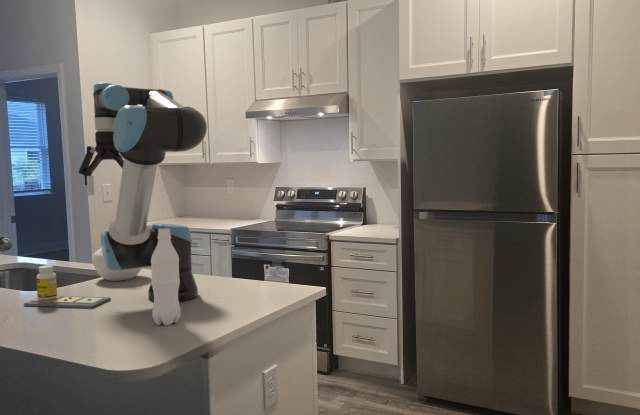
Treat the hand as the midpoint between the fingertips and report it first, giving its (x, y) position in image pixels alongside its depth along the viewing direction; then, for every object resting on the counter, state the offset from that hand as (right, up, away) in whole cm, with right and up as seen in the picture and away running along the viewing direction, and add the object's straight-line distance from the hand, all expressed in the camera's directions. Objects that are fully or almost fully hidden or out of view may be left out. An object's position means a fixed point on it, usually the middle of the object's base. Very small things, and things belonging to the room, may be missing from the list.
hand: (109, 195), depth 179 cm
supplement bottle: (-13, -32, -15) cm, 38 cm away
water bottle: (+30, -35, -37) cm, 59 cm away
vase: (-4, -31, +20) cm, 37 cm away
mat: (-7, -33, -16) cm, 37 cm away
